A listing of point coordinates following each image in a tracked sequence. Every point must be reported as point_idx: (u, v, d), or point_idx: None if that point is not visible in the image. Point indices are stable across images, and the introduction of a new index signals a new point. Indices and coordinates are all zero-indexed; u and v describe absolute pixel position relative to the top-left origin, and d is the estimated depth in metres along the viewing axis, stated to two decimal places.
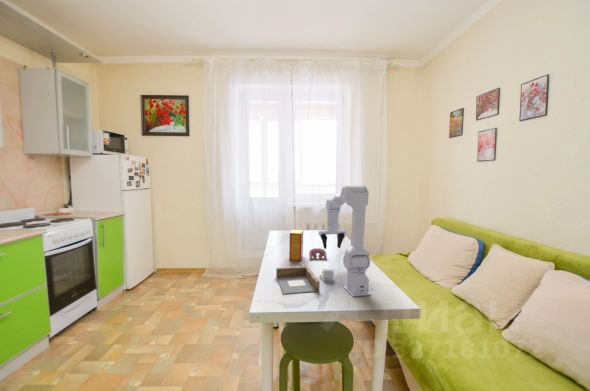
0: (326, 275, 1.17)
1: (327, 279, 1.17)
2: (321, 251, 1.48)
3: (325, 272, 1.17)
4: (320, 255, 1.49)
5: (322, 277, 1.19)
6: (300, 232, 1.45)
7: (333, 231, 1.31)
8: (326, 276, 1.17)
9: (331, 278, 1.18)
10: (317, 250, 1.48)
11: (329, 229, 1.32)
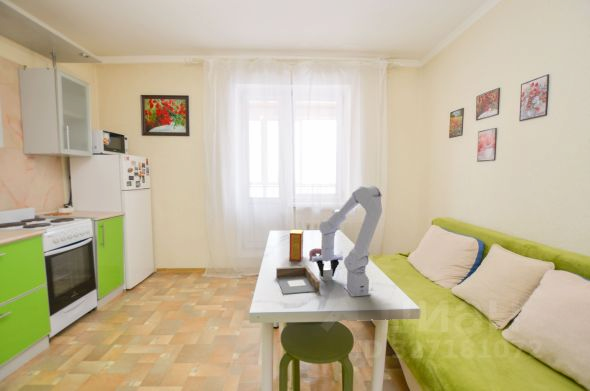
0: (325, 274, 1.18)
1: (326, 278, 1.18)
2: None
3: (324, 271, 1.17)
4: None
5: None
6: (300, 232, 1.45)
7: (328, 258, 1.15)
8: (325, 275, 1.18)
9: (330, 277, 1.18)
10: (317, 250, 1.48)
11: (324, 255, 1.16)
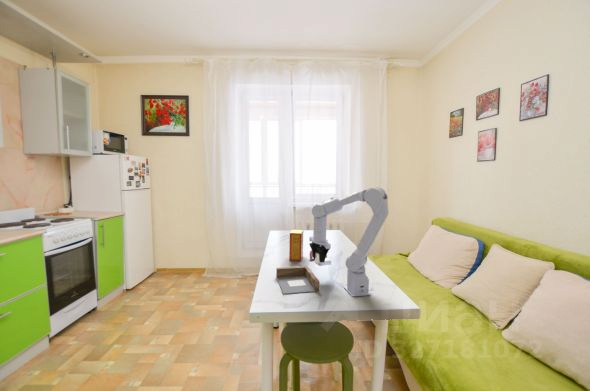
0: (316, 257, 1.17)
1: (316, 262, 1.17)
2: None
3: (315, 254, 1.18)
4: None
5: None
6: (300, 232, 1.45)
7: (313, 240, 1.15)
8: (316, 258, 1.17)
9: (319, 262, 1.15)
10: None
11: None
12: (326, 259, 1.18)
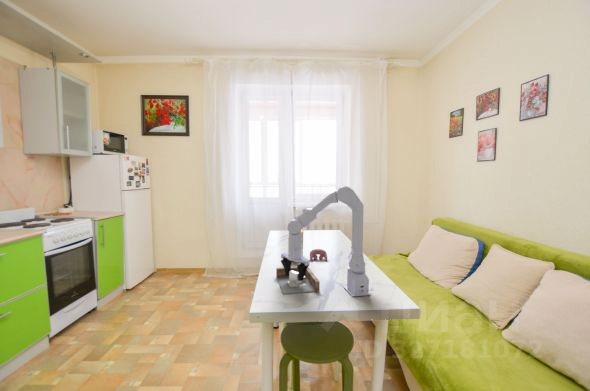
0: (291, 276, 1.13)
1: (292, 281, 1.13)
2: (322, 252, 1.46)
3: (290, 273, 1.13)
4: (321, 256, 1.47)
5: None
6: None
7: (289, 257, 1.10)
8: (291, 277, 1.13)
9: (295, 282, 1.11)
10: (318, 251, 1.46)
11: (288, 254, 1.12)
12: None
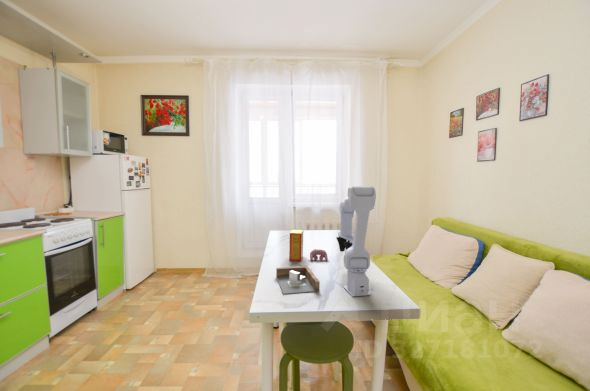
0: (291, 276, 1.13)
1: (292, 281, 1.13)
2: (322, 252, 1.46)
3: (290, 273, 1.13)
4: (321, 256, 1.46)
5: None
6: (300, 232, 1.45)
7: (340, 234, 1.27)
8: (291, 277, 1.13)
9: (295, 282, 1.11)
10: (318, 251, 1.45)
11: None
12: (300, 276, 1.15)
